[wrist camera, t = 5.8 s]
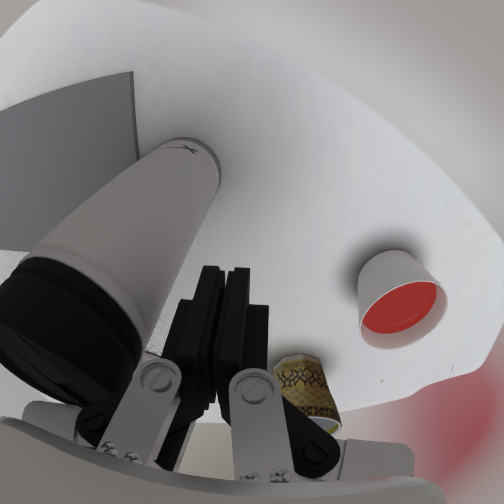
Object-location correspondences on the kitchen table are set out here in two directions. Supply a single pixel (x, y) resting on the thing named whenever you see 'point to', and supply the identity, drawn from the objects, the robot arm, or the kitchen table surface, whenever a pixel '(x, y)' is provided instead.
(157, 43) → the kitchen table surface
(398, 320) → the candle
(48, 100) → the mat
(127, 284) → the travel mug
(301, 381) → the ceramic cup
